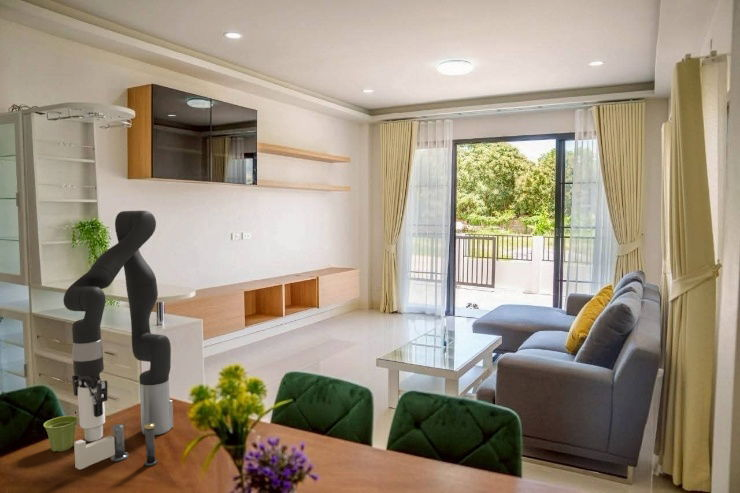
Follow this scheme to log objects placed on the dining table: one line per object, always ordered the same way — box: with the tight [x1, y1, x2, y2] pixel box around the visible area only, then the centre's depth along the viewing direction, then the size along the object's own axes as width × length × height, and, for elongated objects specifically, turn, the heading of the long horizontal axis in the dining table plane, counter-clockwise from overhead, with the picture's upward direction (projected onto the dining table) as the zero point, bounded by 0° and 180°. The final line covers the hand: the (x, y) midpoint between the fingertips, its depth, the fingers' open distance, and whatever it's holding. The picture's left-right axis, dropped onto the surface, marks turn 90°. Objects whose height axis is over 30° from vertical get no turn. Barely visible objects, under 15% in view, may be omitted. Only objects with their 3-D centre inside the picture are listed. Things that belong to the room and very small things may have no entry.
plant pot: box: [43, 415, 79, 452], centre depth 165 cm, size 9×9×9 cm
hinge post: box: [110, 423, 130, 463], centre depth 158 cm, size 5×5×10 cm
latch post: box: [144, 423, 159, 467], centre depth 154 cm, size 4×4×12 cm
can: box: [77, 385, 106, 430], centre depth 149 cm, size 6×6×12 cm
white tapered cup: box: [83, 424, 104, 442], centre depth 172 cm, size 7×7×15 cm
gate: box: [73, 435, 115, 471], centre depth 152 cm, size 10×2×8 cm, turn 146°
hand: (91, 413), depth 149 cm, fingers closed on can, 6 cm apart
